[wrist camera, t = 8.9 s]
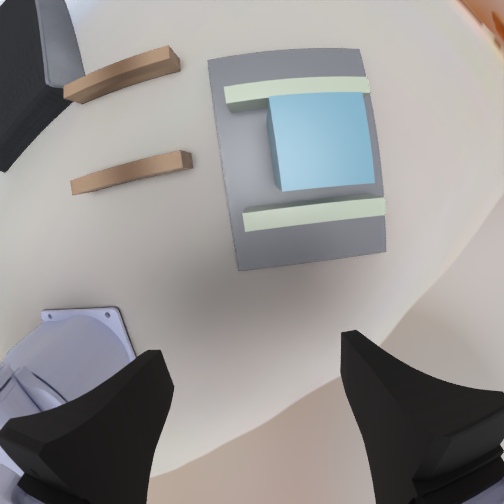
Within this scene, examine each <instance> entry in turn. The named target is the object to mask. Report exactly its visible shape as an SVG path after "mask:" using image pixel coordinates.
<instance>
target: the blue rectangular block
mask: <svg viewBox="0 0 504 504" xmlns="http://www.w3.org/2000/svg"><path fill="white" fill-rule="evenodd" d="M266 122H267V129H268V136H269V143H270V150H271V157H272V164H273V172H274V179H275V186H276V187H278V188H279V189H280V190H281V191H282V192H285V191H293V190H302V189H312V188H322V187H333V186H344V185H356V184H369V183H375V177H374V167H373V158H372V150H371V142H370V135H369V128H368V122H367V116H366V110H365V104H364V99H363V94H362V92H322V93H303V94H289V95H278V96H269V98H268V110H267V121H266Z"/></svg>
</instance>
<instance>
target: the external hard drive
mask: <svg viewBox="0 0 504 504" xmlns="http://www.w3.org/2000/svg"><path fill="white" fill-rule="evenodd" d="M84 76H85V73H84V69H83V64H82V60H81V56H80V52H79V48H78V43H77V40H76V36H75V32H74V28H73V25H72V22H71V18H70V15H69V12H68V9H67V6H66V3H65V1H64V0H6V1H5V2H4V3H3V4H2V5H1V6H0V171H2V172H4V173H5V172H6V171H7V170H8V169H9V167H10V166H11V165H12V164H13V163H14V161H15V160H16V159H17V158H18V157H19V156H20V154H21V153H22V152H23V151H24V150H25V149H26V148H27V146H28V145H29V144H30V143H31V142H32V141H33V140H34V139H35V138H36V137H37V136H38V135H39V133H40V132H42V131H43V129H44V128H45V127H46V126H47V125H48V124H49V123H50V122H51V121H52V120H53V119H54V118H56V117H57V116H58V115H59V114H60V113H61V112H62V111H63V110H64V109H65V108H66V107H67V106H69V105H70V104H71V103H72V102H73V101H70V100H67V99H64V86H65V85H67V84H69V83H71V82H73V81H75V80H77V79H79V78H81V77H84Z"/></svg>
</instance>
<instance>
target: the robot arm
mask: <svg viewBox="0 0 504 504" xmlns="http://www.w3.org/2000/svg"><path fill="white" fill-rule="evenodd" d="M107 312H108V313H109V314H110V316H109V315H108V314H107ZM40 315H41V318H42V321H43V323H41V324H40V325H39V326H38V327H37V328H35V329H34V330H33V331H32V332H31V333H29V334H28V335H27V336H26V337H25V338H23V339H22V340H21V341H20V342H19V343H17V344H16V345H15V346H14V347H13V348H12V349H11V350H10V351H9V352H8V353H7V354H6V356H5V358H4V361H3V362H0V504H146V501H147V491H148V483H149V477H150V471H151V466H152V461H153V456H154V453H155V449H156V446H157V443H158V440H159V438H160V435H161V432H162V429H163V426H164V424H165V421H166V418H167V415H168V412H169V410H170V407H171V402H172V397H173V392H174V385H173V382H172V379H171V377H170V374H169V372H168V369H167V366H166V363H165V361H164V358H163V355H162V352H161V350H147V351H145V352H144V353H142V354H141V355H140V356H138V357H137V358H136V357H135V354H134V351H133V349H132V346H131V344H130V341H129V338H128V335H127V333H126V330H125V327H124V324H123V321H122V318H121V315H120V313H119V311H118V310H117V309H116V308H114V307H109V308H90V309H67V310H43V311H42V312H41V313H40ZM340 373H341V377H342V381H343V385H344V389H345V393H346V396H347V398H348V401H349V403H350V406H351V408H352V411H353V414H354V416H355V419H356V421H357V424H358V426H359V429H360V431H361V434H362V437H363V440H364V443H365V448H366V452H367V456H368V461H369V465H370V470H371V475H372V480H373V487H374V493H375V499H376V504H504V461H503V459H502V458H501V455H502V454H503V451H504V450H503V449H502V447H501V446H500V443H501V442H502V441H503V439H504V393H503V392H500V391H490V390H480V389H474V388H469V387H465V386H460V385H456V384H453V383H449V382H446V381H443V380H440V379H437V378H435V377H432V376H430V375H427V374H425V373H423V372H420V371H419V370H416V369H414V368H412V367H410V366H409V365H407V364H405V363H403V362H402V361H400V360H398V359H397V358H395V357H393V356H392V355H390V354H389V353H387V352H386V351H384V350H383V349H381V348H380V347H379V346H377V345H376V344H375V343H373V342H372V341H371V340H369V339H368V338H367V337H365V336H364V335H363V334H361V333H360V332H359V331H357V330H353V331H347V332H341V370H340Z"/></svg>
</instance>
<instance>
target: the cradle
mask: <svg viewBox="0 0 504 504" xmlns="http://www.w3.org/2000/svg"><path fill="white" fill-rule="evenodd" d="M178 71H180V61H179V58H178V57H177V55H176V54H175V53H174V52H173V50H172V49H171V48H170V47H169V45H168V46H164V47H161V48H157V49H154V50H151V51H148V52H145V53H142V54H139V55H136V56H133V57H130V58H127V59H124V60H122V61H119V62H116V63H114V64H111V65H109V66H106V67H104V68H102V69H99V70H97V71H95V72H92V73H90V74H88V75H86V76H84V77H81V78H79V79H77V80H75V81H73V82H71V83H69V84H67V85H65V86H64V99H67V100H70V101H74V102H77V103H81V104H84V103H86V102H88V101H91V100H93V99H96V98H98V97H101V96H103V95H106V94H108V93H111V92H114V91H116V90H119V89H122V88H125V87H128V86H130V85H133V84H136V83H140V82H143V81H146V80H149V79H153V78H156V77H159V76H163V75H167V74H170V73H174V72H178ZM190 168H193V164H192V158H191V153H188V152H185V151H181V150H180V151H175V152H171V153H166V154H162V155H158V156H154V157H149V158H145V159H141V160H138V161H134V162H130V163H126V164H123V165H119V166H116V167H112V168H109V169H105V170H102V171H99V172H96V173H92V174H89V175H86V176H83V177H80V178H77V179H74V180H71V181H70V183H71V190H72V195H77V194H83V193H88V192H93V191H97V190H100V189H104V188H108V187H111V186H115V185H119V184H123V183H127V182H131V181H135V180H139V179H143V178H148V177H152V176H157V175H161V174H166V173H170V172H175V171H180V170H185V169H190Z"/></svg>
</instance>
